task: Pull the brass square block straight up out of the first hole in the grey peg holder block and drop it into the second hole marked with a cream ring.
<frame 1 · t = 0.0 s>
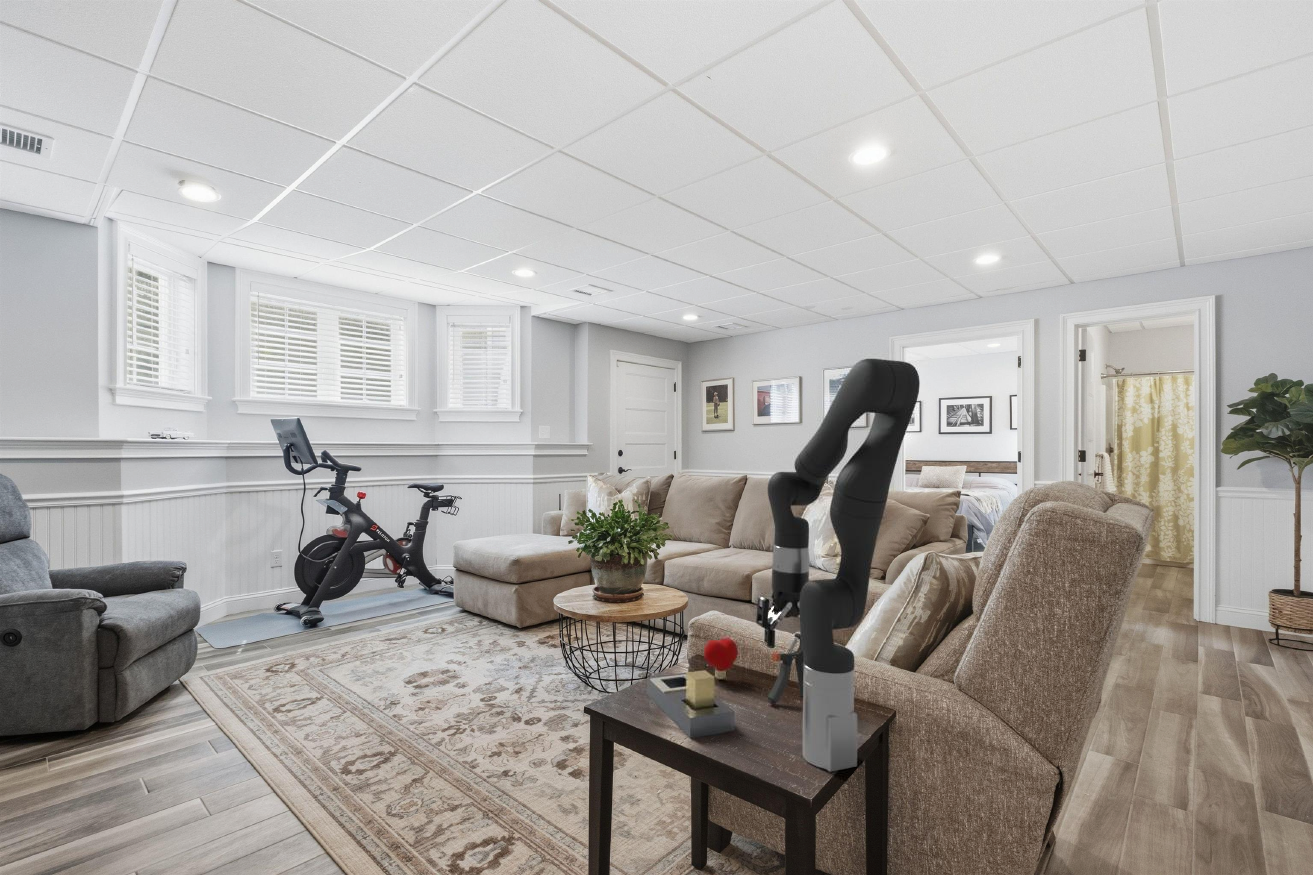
hand: (787, 645, 128), 17 cm above the table, tool pointing down, fingers open, 8 cm apart
brass block: (699, 722, 130), resting in grey peg holder block
hand grip strengthener: (789, 701, 143), on the table
grey peg holder block: (687, 711, 136), on the table
red two-lobed part: (720, 680, 155), on the table
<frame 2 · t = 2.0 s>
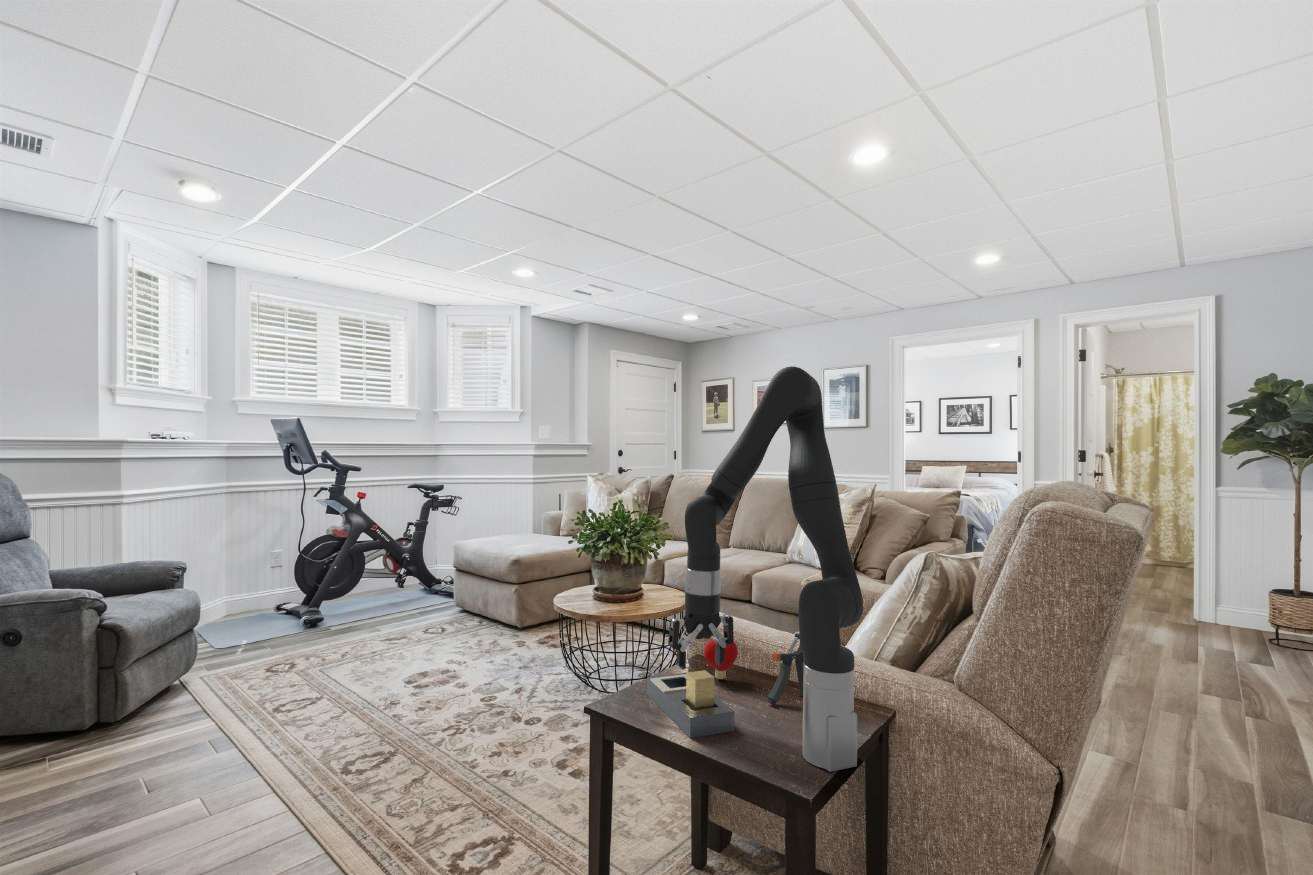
hand: (700, 666, 131), 12 cm above the table, tool pointing down, fingers open, 8 cm apart
nothing on the table moved.
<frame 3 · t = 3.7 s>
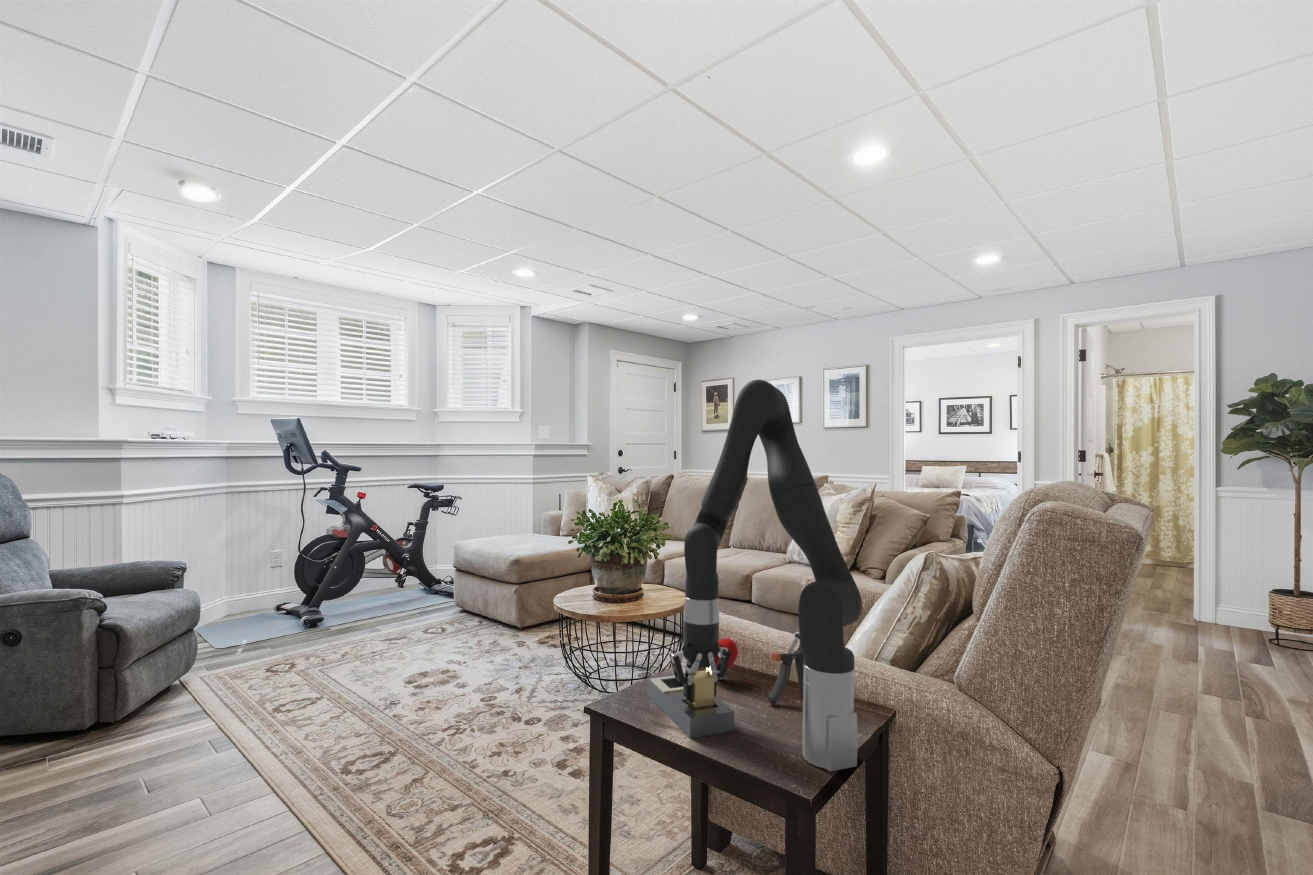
hand: (699, 699, 130), 5 cm above the table, tool pointing down, fingers closed on brass block, 4 cm apart
brass block: (699, 722, 130), resting in grey peg holder block, touching gripper
everything else where it was.
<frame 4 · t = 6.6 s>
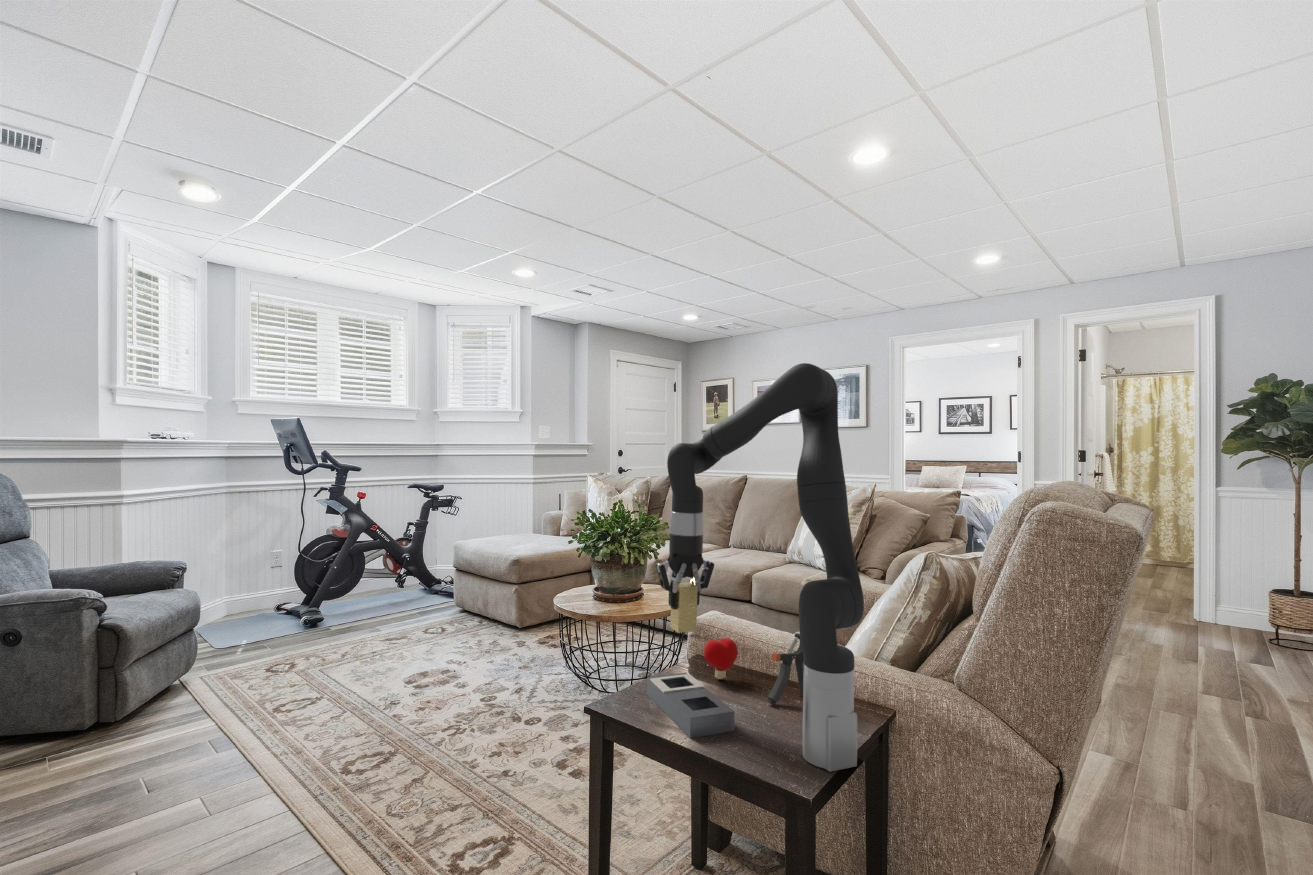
hand: (683, 607, 139), 22 cm above the table, tool pointing down, fingers closed on brass block, 4 cm apart
brass block: (683, 628, 138), point 17 cm above the table, touching gripper
everything else where it was.
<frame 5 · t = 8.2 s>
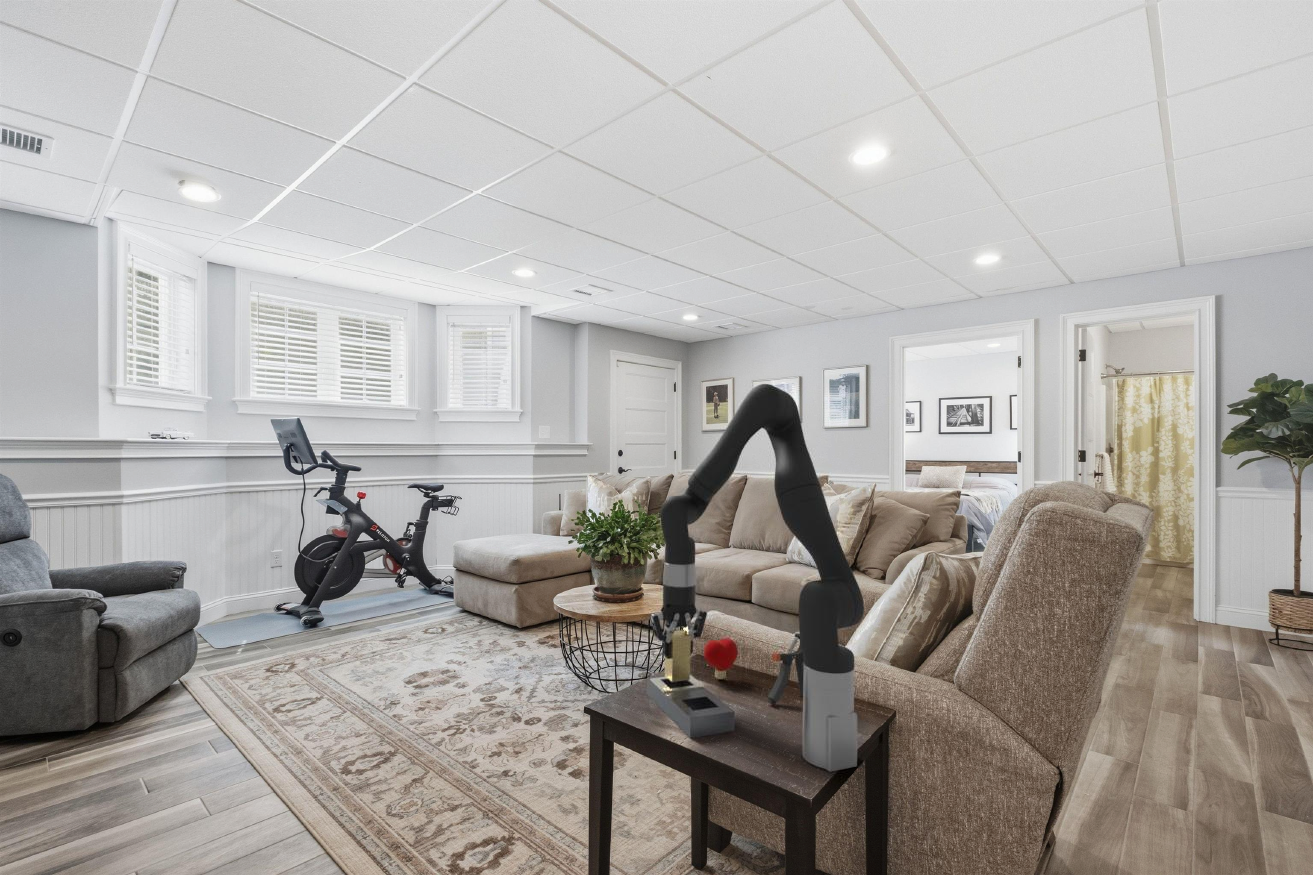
hand: (677, 656, 142), 10 cm above the table, tool pointing down, fingers closed on brass block, 4 cm apart
brass block: (677, 677, 142), point 5 cm above the table, touching gripper
everything else where it was.
when the fingers open (6 cm above the table, at t = 9.6 s): brass block stays where it is, resting in grey peg holder block.
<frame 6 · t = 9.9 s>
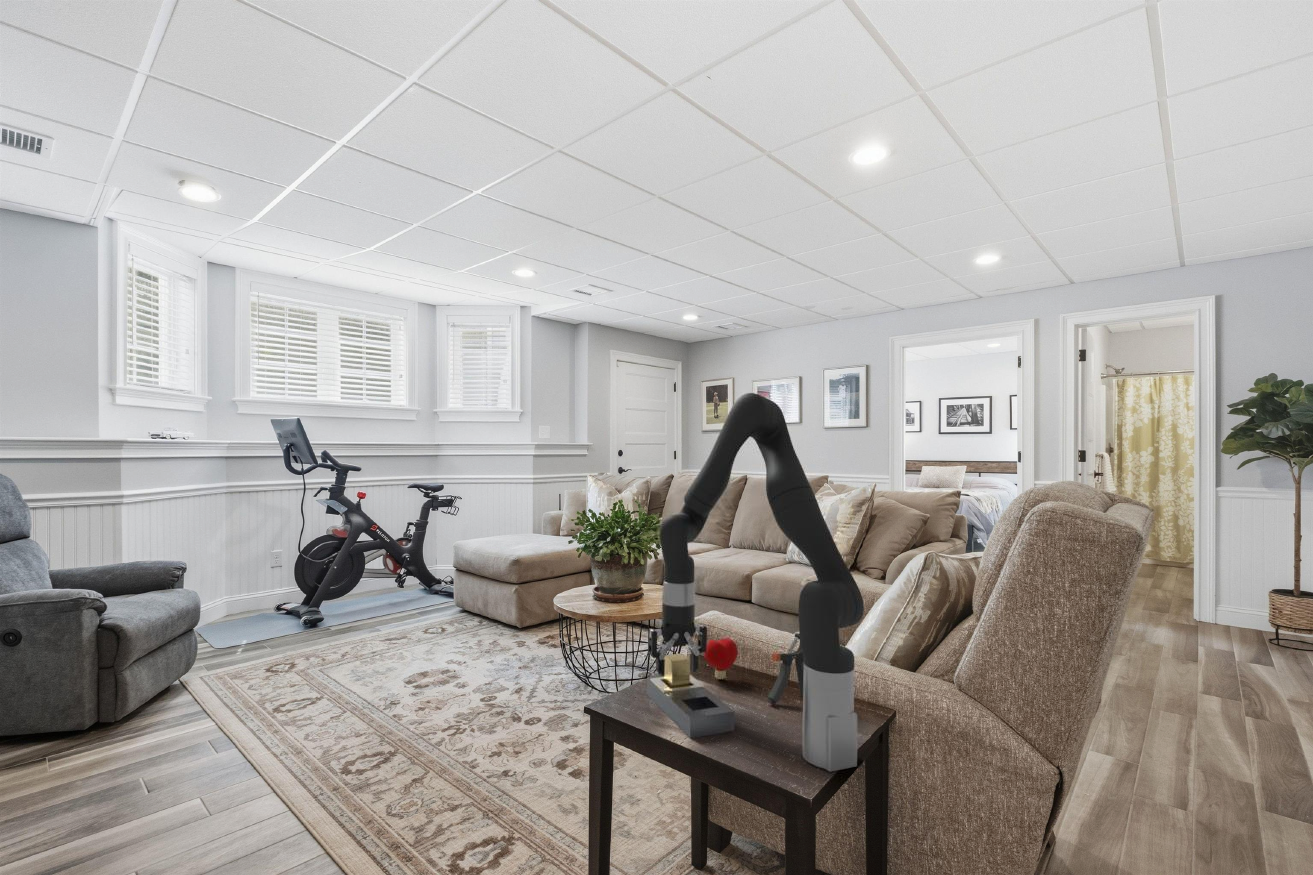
hand: (677, 672, 141), 6 cm above the table, tool pointing down, fingers open, 7 cm apart
brass block: (676, 701, 141), resting in grey peg holder block
everything else where it was.
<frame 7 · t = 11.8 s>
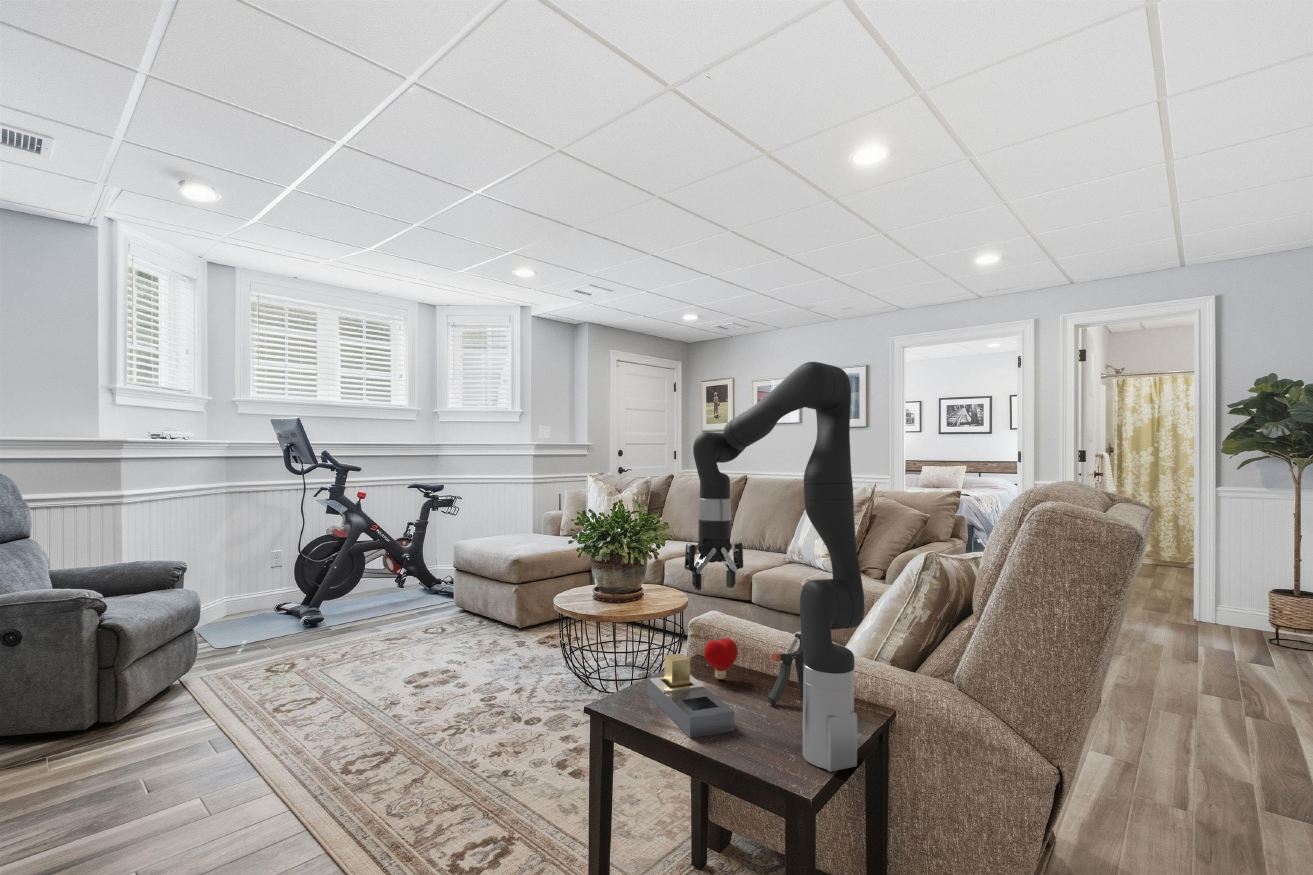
hand: (714, 588, 143), 26 cm above the table, tool pointing down, fingers open, 8 cm apart
nothing on the table moved.
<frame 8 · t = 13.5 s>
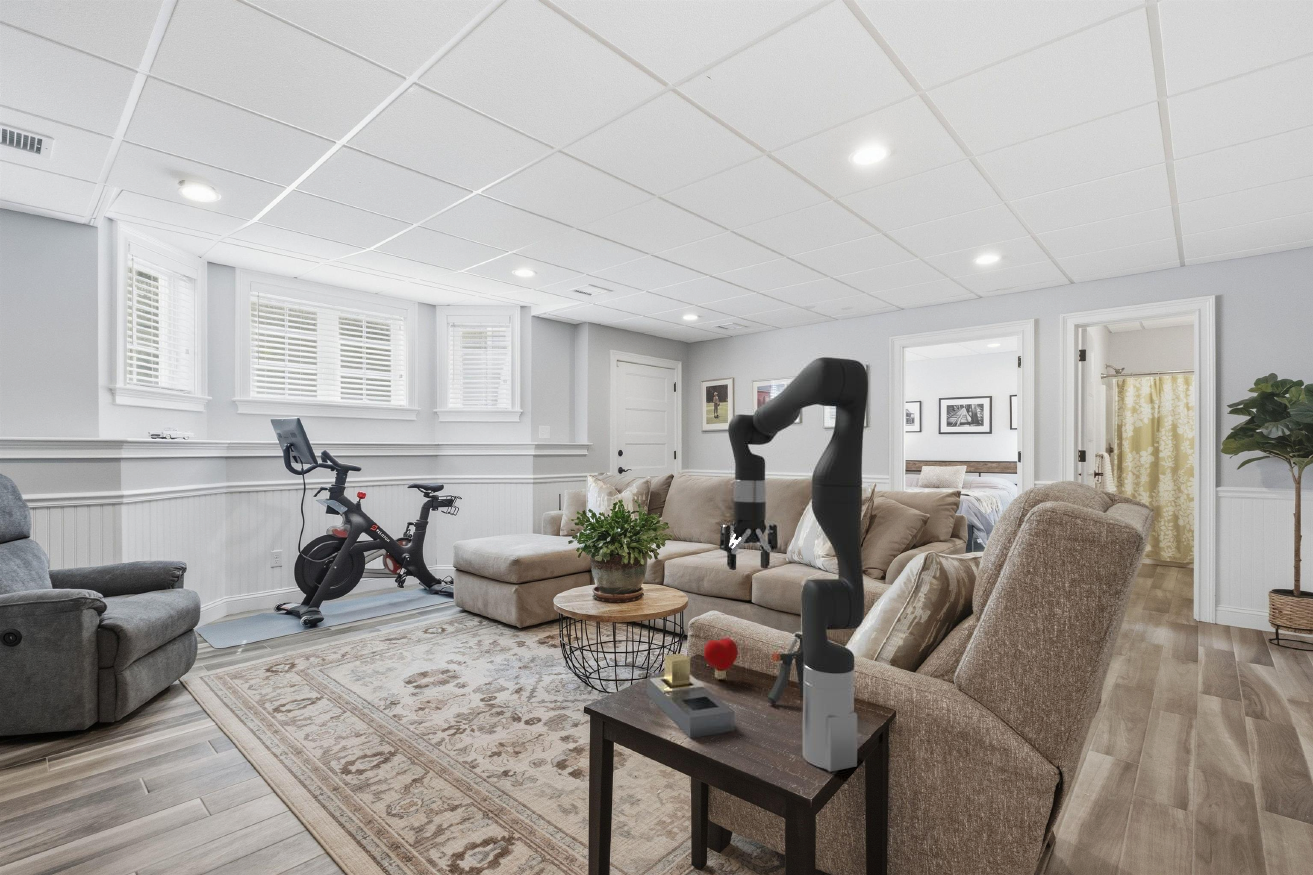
hand: (748, 568, 144), 30 cm above the table, tool pointing down, fingers open, 8 cm apart
nothing on the table moved.
at the end: brass block 0.1 cm from the target spot on the grey peg holder block, point 0.0 cm above the grey peg holder block's base; brass block tilted 0°; the gripper is holding nothing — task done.
